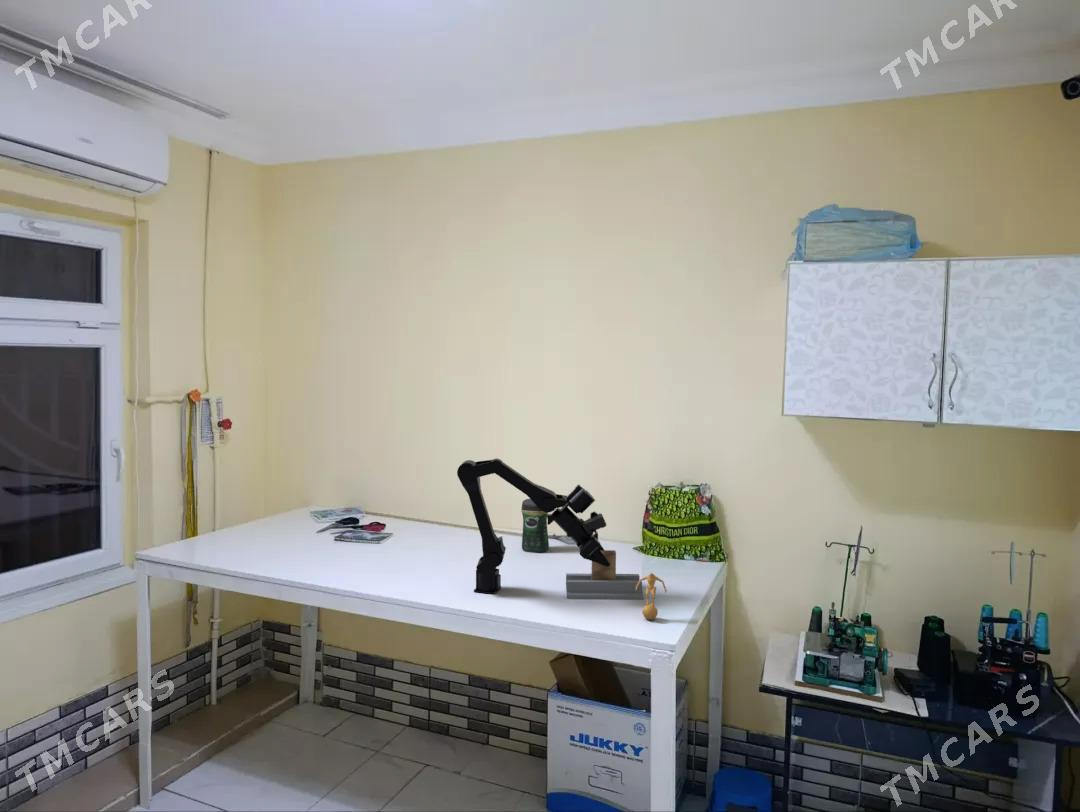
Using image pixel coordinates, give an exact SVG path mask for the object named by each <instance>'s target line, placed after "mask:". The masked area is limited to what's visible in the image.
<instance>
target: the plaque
mask: <svg viewBox="0 0 1080 812" xmlns="http://www.w3.org/2000/svg"><path fill="white" fill-rule="evenodd" d="M601 552H602V553H603V554H604V556H605V557H606V559H607V560H608V562H609V563H610V565H609V566H608V567H607V566H604V565H601V564H599V563H596V562H594V561H591V574H592V580H616V574H617V567H616V566H617V552H616V550H615V549H614V550H613V549H612V550H608V549H607V550H605V549H604V550H601Z"/></svg>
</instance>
